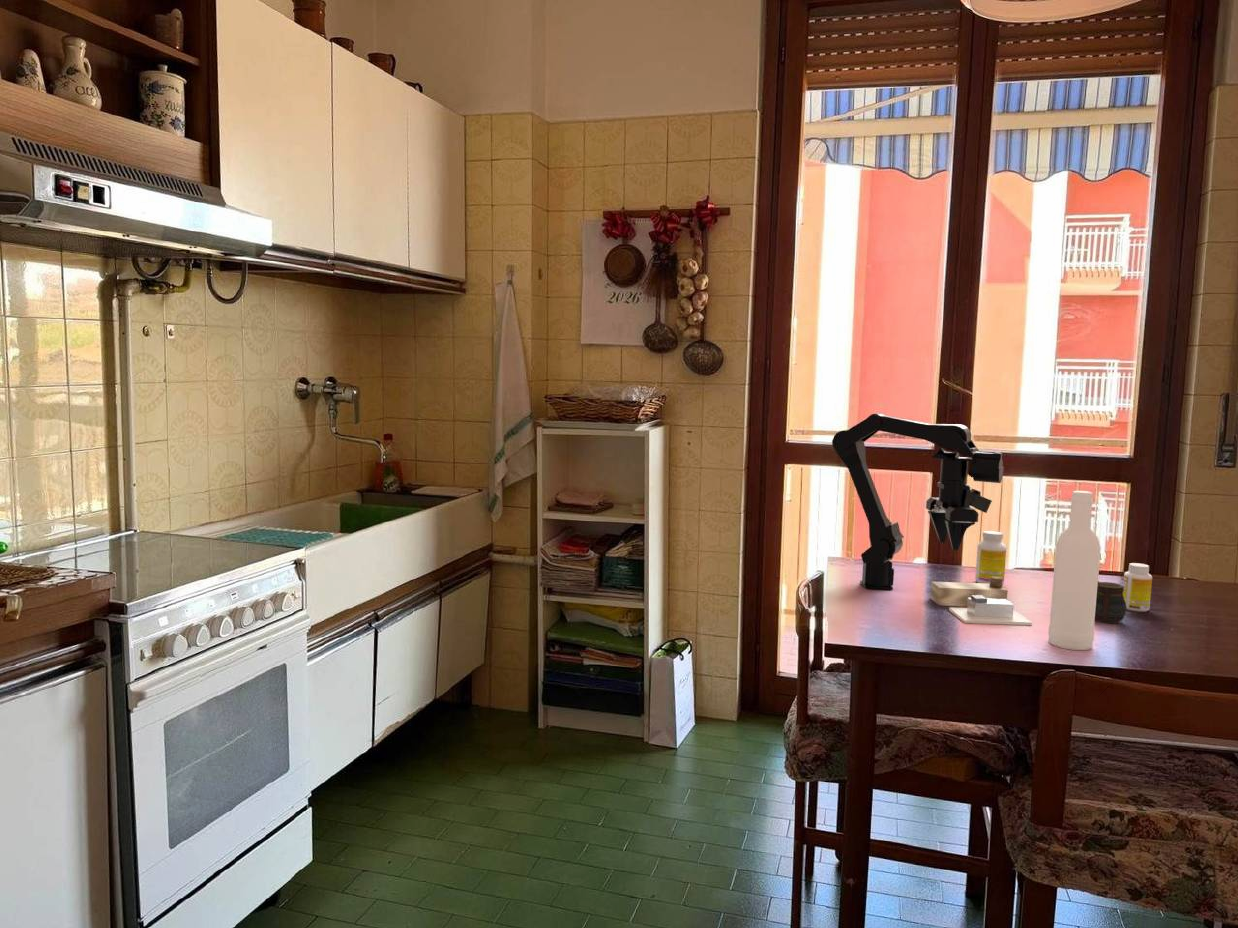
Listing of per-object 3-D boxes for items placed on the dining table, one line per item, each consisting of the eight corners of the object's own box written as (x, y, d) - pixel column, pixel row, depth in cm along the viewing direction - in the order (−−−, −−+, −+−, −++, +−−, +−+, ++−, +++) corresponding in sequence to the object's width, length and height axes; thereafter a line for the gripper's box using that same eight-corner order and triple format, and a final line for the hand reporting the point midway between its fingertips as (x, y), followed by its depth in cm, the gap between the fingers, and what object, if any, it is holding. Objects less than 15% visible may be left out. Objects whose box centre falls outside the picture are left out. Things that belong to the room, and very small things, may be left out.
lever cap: (974, 616, 196) (975, 599, 195) (967, 611, 200) (968, 594, 200) (1012, 618, 195) (1014, 600, 195) (1004, 612, 200) (1005, 595, 200)
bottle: (1102, 649, 177) (1115, 494, 173) (1066, 651, 175) (1079, 494, 172) (1073, 637, 184) (1085, 489, 181) (1038, 639, 183) (1050, 489, 179)
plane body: (938, 605, 207) (940, 579, 206) (930, 598, 213) (932, 572, 212) (1006, 607, 207) (1008, 581, 206) (996, 600, 212) (998, 575, 212)
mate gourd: (1125, 627, 193) (1128, 580, 192) (1084, 621, 197) (1087, 576, 196) (1126, 619, 199) (1130, 574, 198) (1087, 614, 203) (1090, 569, 202)
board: (964, 622, 193) (964, 619, 193) (948, 610, 203) (949, 607, 203) (1032, 625, 193) (1032, 622, 193) (1013, 612, 203) (1013, 609, 202)
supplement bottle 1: (1008, 586, 227) (1011, 535, 225) (980, 586, 227) (984, 534, 226) (997, 580, 233) (1001, 530, 232) (971, 579, 234) (974, 529, 232)
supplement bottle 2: (1155, 611, 207) (1159, 566, 206) (1136, 613, 205) (1140, 568, 204) (1133, 605, 212) (1137, 561, 211) (1115, 606, 210) (1119, 562, 209)
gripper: (1004, 485, 202) (999, 555, 204) (974, 475, 221) (969, 539, 222) (953, 484, 203) (948, 554, 204) (927, 474, 221) (923, 538, 223)
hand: (948, 546), depth 213 cm, fingers open, 9 cm apart
